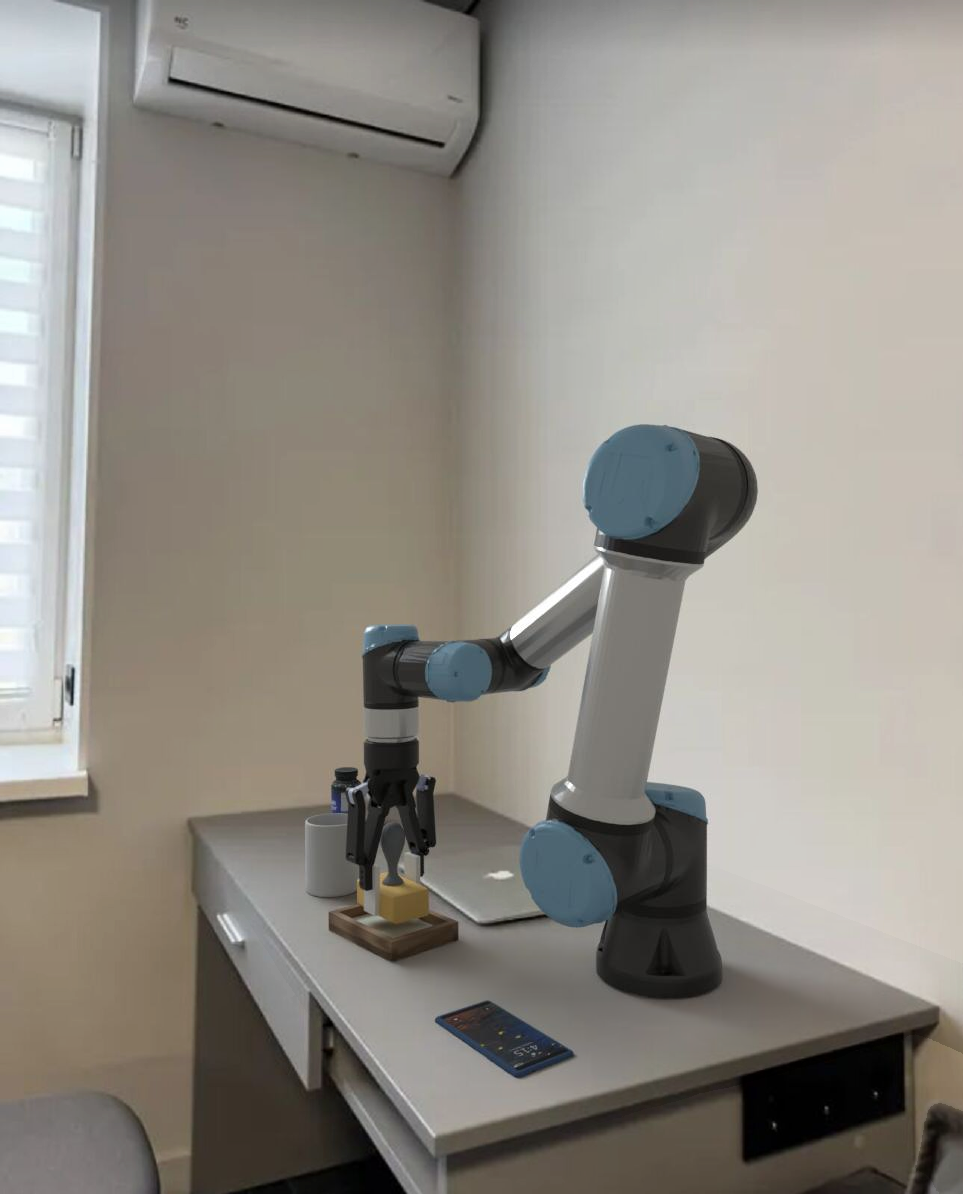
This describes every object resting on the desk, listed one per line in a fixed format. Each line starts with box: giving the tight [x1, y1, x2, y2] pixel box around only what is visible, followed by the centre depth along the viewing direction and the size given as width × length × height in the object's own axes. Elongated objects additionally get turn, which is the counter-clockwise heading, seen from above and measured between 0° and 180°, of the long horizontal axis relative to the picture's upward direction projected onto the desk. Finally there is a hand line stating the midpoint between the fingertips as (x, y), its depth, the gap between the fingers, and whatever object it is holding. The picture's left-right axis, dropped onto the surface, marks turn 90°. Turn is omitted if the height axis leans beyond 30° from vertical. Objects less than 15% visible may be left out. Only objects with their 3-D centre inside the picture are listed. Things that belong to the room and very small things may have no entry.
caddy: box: [328, 903, 460, 963], centre depth 126 cm, size 15×11×2 cm
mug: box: [304, 813, 359, 898], centre depth 147 cm, size 12×8×11 cm
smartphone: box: [434, 999, 575, 1079], centre depth 97 cm, size 8×1×15 cm
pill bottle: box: [330, 766, 362, 814], centre depth 186 cm, size 6×6×11 cm
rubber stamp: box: [356, 821, 430, 924], centre depth 126 cm, size 10×6×12 cm, turn 37°
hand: (392, 906), depth 126 cm, fingers closed on rubber stamp, 6 cm apart
